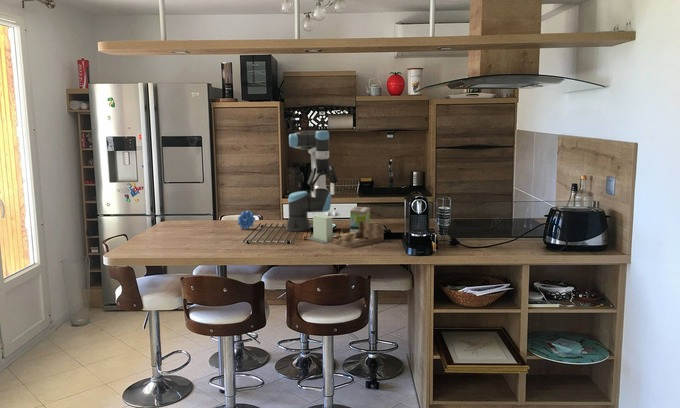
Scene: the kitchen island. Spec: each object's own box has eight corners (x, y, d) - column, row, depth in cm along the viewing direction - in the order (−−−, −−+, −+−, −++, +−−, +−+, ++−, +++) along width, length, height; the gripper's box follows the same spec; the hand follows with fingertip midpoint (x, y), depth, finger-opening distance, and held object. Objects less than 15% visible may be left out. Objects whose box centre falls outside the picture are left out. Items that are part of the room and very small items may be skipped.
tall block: (313, 237, 325) (313, 215, 323) (319, 236, 328) (319, 214, 326) (326, 241, 316) (326, 218, 314) (332, 239, 319) (332, 217, 317)
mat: (306, 238, 324) (306, 238, 324) (322, 235, 332) (322, 234, 332) (323, 243, 312) (323, 242, 312) (339, 240, 320) (339, 239, 320)
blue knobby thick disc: (257, 228, 355) (257, 209, 353) (254, 230, 348) (253, 211, 346) (240, 227, 357) (239, 208, 355) (236, 229, 351) (235, 210, 349)
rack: (329, 242, 315) (328, 226, 313) (361, 235, 331) (361, 220, 329) (350, 248, 301) (350, 231, 300) (383, 240, 317) (383, 225, 316)
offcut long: (338, 244, 313) (337, 238, 313) (339, 242, 316) (339, 237, 316) (358, 245, 309) (358, 240, 309) (360, 244, 312) (360, 238, 312)
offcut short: (345, 240, 308) (345, 235, 308) (341, 239, 311) (341, 234, 310) (356, 238, 313) (356, 233, 313) (352, 237, 316) (352, 232, 315)
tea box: (366, 235, 331) (366, 210, 329) (349, 235, 333) (349, 210, 331) (370, 230, 346) (370, 206, 343) (354, 229, 348) (354, 206, 345)
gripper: (308, 160, 304) (309, 198, 308) (343, 157, 320) (344, 194, 324) (300, 159, 310) (301, 197, 314) (335, 156, 326) (335, 192, 330)
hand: (323, 195), depth 319 cm, fingers open, 13 cm apart
